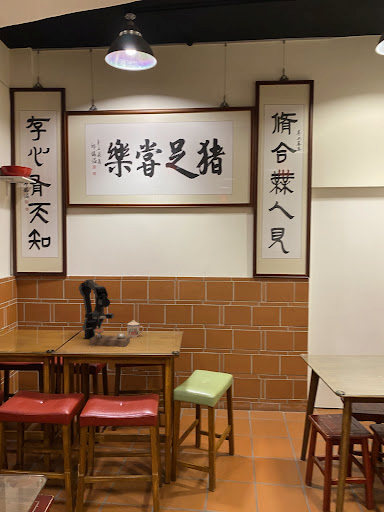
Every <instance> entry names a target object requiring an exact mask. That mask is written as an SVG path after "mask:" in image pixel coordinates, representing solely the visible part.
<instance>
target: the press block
mask: <svg viewBox="0 0 384 512" xmlns="http://www.w3.org/2000/svg"><path fill="white" fill-rule="evenodd" d="M129 342H131V337H130V336H127V335H125V338H124V339H118V338H117V335H105V334H101V338H98V334H95V336H94V337H92V338H90V339H89V346H103V347H121V348H123V347H125V348H126V346H127V345H129V344H130V343H129ZM128 343H129V344H128Z"/></svg>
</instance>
